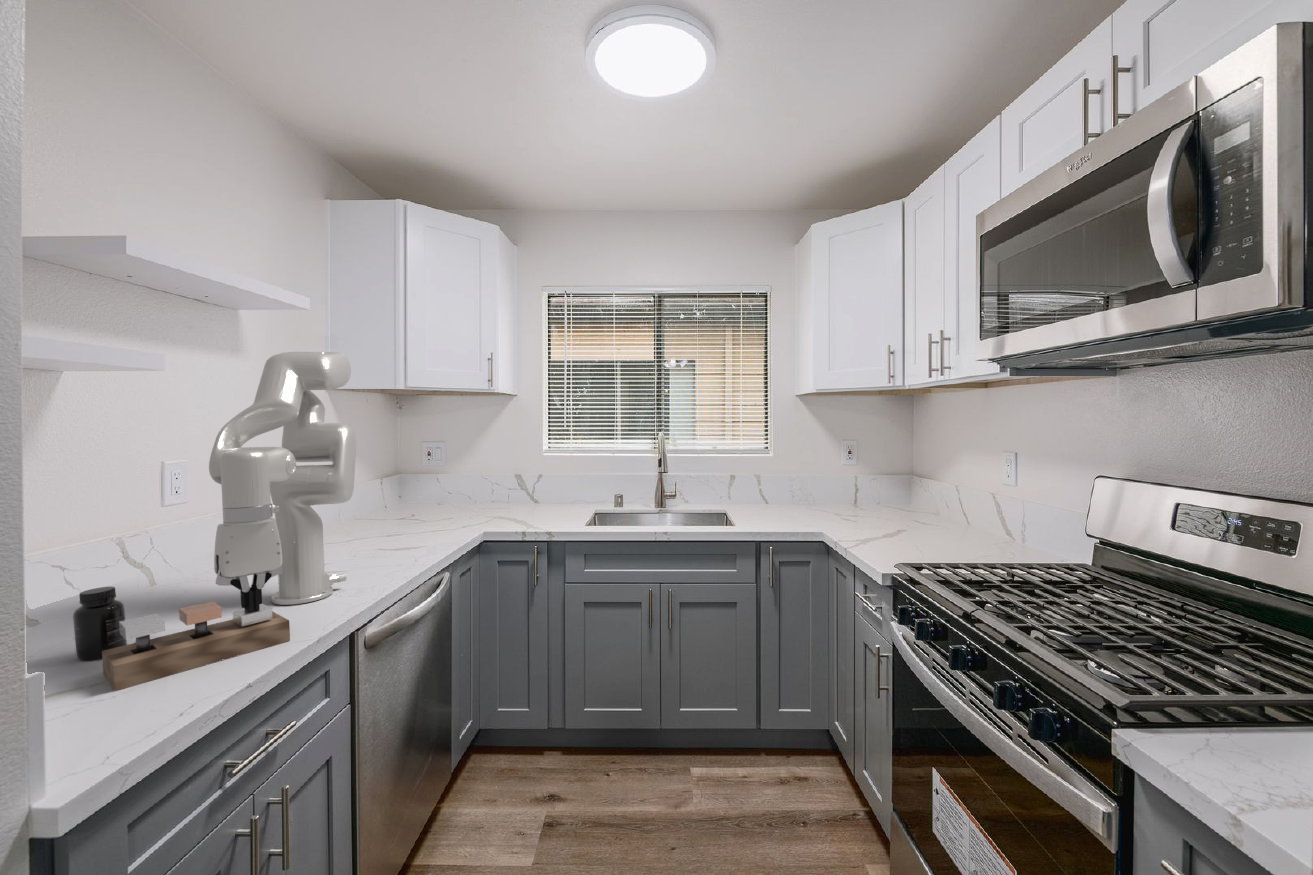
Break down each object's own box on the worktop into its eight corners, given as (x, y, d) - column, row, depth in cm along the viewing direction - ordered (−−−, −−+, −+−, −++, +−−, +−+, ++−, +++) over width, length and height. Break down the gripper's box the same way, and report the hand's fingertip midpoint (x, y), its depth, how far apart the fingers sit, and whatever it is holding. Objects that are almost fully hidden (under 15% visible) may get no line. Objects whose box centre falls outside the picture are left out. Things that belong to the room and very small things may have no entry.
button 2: (264, 633, 115) (262, 603, 115) (273, 639, 112) (272, 608, 111) (234, 641, 111) (232, 610, 111) (242, 647, 108) (241, 616, 108)
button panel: (271, 629, 118) (270, 610, 118) (290, 640, 112) (289, 620, 112) (103, 674, 98) (101, 650, 98) (115, 690, 92) (113, 666, 92)
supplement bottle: (123, 643, 112) (120, 582, 111) (130, 652, 108) (126, 588, 107) (73, 655, 107) (69, 591, 106) (78, 665, 102) (74, 598, 102)
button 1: (159, 646, 102) (157, 613, 102) (166, 653, 99) (164, 619, 99) (121, 656, 98) (119, 621, 98) (127, 663, 95) (125, 628, 95)
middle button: (214, 632, 108) (212, 601, 108) (222, 638, 105) (221, 606, 105) (180, 641, 105) (178, 608, 104) (188, 647, 101) (186, 614, 101)
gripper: (284, 507, 118) (288, 596, 119) (192, 518, 107) (197, 617, 107) (298, 511, 114) (302, 603, 114) (205, 523, 102) (210, 625, 103)
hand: (252, 609), depth 111 cm, fingers closed
